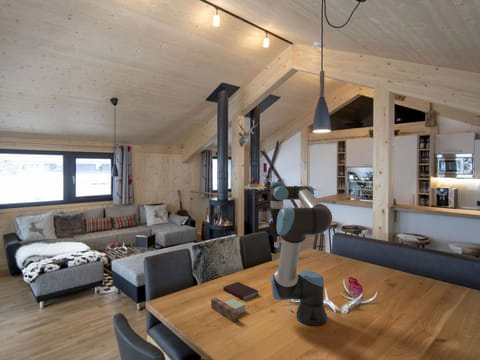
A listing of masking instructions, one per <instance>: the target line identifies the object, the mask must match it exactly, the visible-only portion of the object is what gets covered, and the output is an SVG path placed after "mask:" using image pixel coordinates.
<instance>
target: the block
mask: <svg viewBox="0 0 480 360" xmlns="http://www.w3.org/2000/svg"><path fill="white" fill-rule="evenodd" d="M223 302H224V303H226V304H228V305H230V306H231V307H233V308H235V309H236V310H238V311H239V315H240V314H242V313H244V312H246V304H245V303H243V302H241V301H239V300H236V299H234V298H230V299H228V300H225V301H223Z"/></svg>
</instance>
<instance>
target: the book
mask: <svg viewBox="0 0 480 360" xmlns="http://www.w3.org/2000/svg"><path fill="white" fill-rule="evenodd" d="M222 290H223V291H225V292H226V293H228V294H230V295H232V296H233V297H236V298H238V299H239V300H241V301H243V302H244V301H246V300H249V299H252V298H254V297H255V298H256V297H257V296H258V295H259V290H257V289H256V288H254V287H251V286H249V285H246V284H245V283H242V282H239V281H237V282H233V283H231V284H228V285H224V286H223V289H222Z"/></svg>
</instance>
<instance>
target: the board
mask: <svg viewBox="0 0 480 360" xmlns="http://www.w3.org/2000/svg"><path fill="white" fill-rule="evenodd" d="M210 302H211V303H210V305H211V309H212V310H214V311H215V312H217V313H218V314H220V315H222V316H223V317H225V318H226V319H227V320H229V321H231V322H232V323H236V322H239V321H240V319H239V315H240V314H239V311H238V310H236V309H235V308H233V307H231V306H230V305H228V304H226V303H224V302H225V301H222V300H221V299H219V298H218V297H212V298H211V300H210Z"/></svg>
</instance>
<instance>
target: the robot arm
mask: <svg viewBox="0 0 480 360" xmlns="http://www.w3.org/2000/svg"><path fill="white" fill-rule="evenodd" d="M285 200H286V201H288V200H290V201H292V200H295V201H297V200H298V201H300V203H301V205H302V206H303V207H293V206H292V207H291V206H290V207H284V201H285ZM270 215H271V217H270V219H268V220H267V222H268V225H269V231H270V235H271V236H272V237H273V243H274V244H273V247H274V248H277V249H278V248H280V255H279V261H278V268H277V270H275V272H274V274H273V275H270V283H271V284H270V285H271V292H272V297H273V300H280V301H283V300H286V301H287V300H299V305H298V307H297V310H296V313H295V315H296V319H297V321H298V322H299V323H301V324H304V325H305V326H310V327H311V326H312V327H320V326H323V325H326V323H327V322H328V314H327V311H326V308H325V305H324V298H325V297H324V294H325V293H324V289H325V282H324V280H325V279H324V277H323V275H321V273H319V272H315V271H313V270H301V271H300V272H299V274H297V270H298V264H299V257H300V253H301V246H302V243H303V242H304V241H306V238H307V237H306V236H316V235H317V236H318V235H321V234H323V233H324V232H326V231H328V229H329V228H330V227H331V225H332V222H333V214H332V211H331V209H329V207H328V206H327V205H325V204H323V203H321V202H320V200H319V199H318V198H317V197H316V196H315V189H314V188H313V187H312V186H309V185H302V186H301V185H296V186H295V185H293V186H291V185H289V186H288V185H284V182H282V181H271V183H270ZM280 240H281V241H280ZM280 242H281V247H280Z"/></svg>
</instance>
